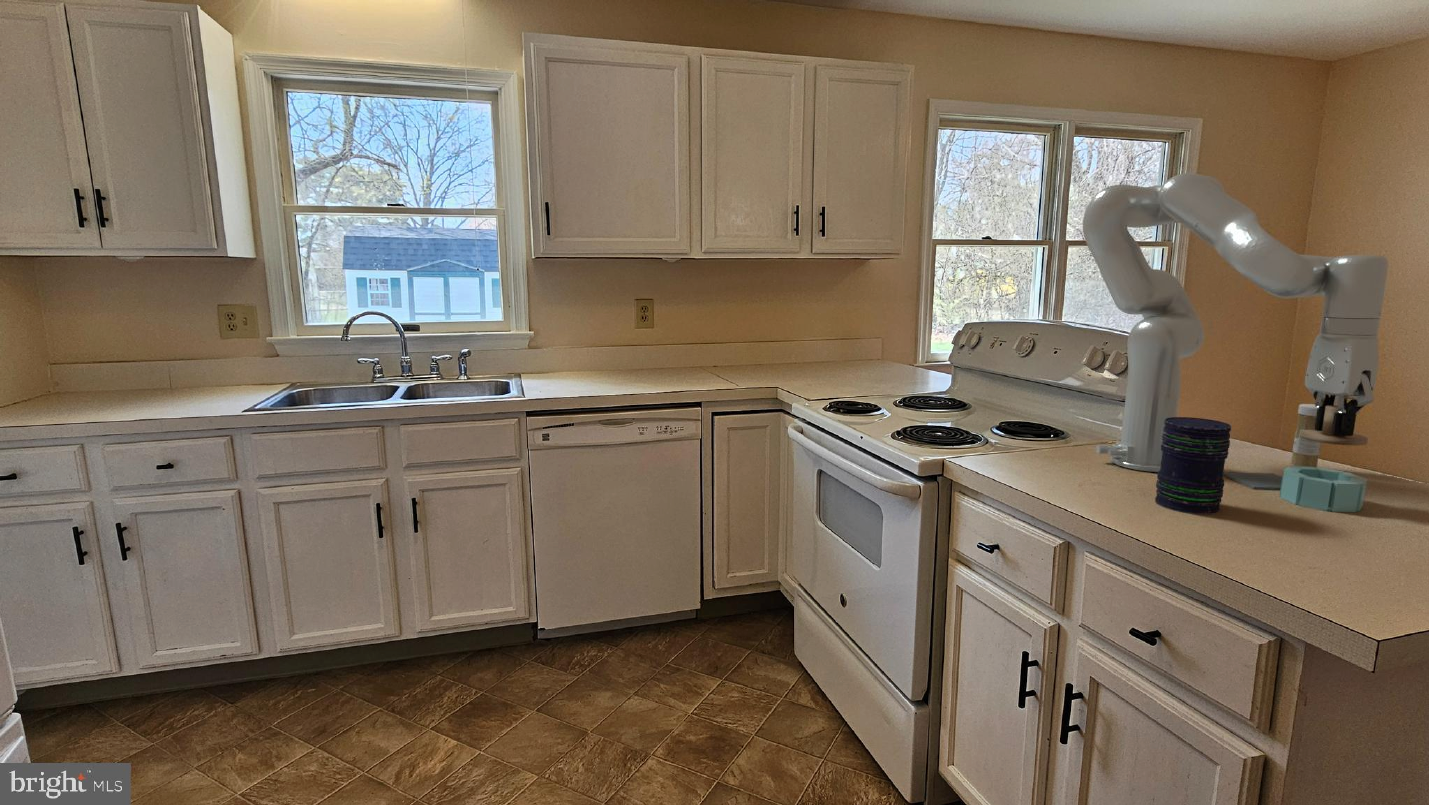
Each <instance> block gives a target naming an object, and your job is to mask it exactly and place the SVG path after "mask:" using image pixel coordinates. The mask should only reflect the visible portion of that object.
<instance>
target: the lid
mask: <svg viewBox="0 0 1429 805" xmlns="http://www.w3.org/2000/svg"><path fill="white" fill-rule="evenodd" d="M1334 413H1339V412H1338V405H1336V406H1326V407H1325V414H1324V421H1323V428H1322V431H1317V430H1302V431H1301V432H1300V437H1301V438H1304V439H1307V440H1311V441H1316V442H1321V444H1330V445H1338V446H1365V445H1367V444H1368V440H1369V438H1368V437H1366V436H1364V435H1360V434H1358V433H1357V434H1356V433H1353V435H1352V436H1334V435H1332V434H1331V431H1332V425H1333V418H1334Z"/></svg>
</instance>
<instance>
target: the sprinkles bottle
mask: <svg viewBox="0 0 1429 805" xmlns="http://www.w3.org/2000/svg"><path fill="white" fill-rule="evenodd" d="M1297 414H1298V416H1297V422H1296V430H1295V434H1294V439H1293V447H1292V453H1291V454H1292V455H1291V462H1290V464H1289V467H1291V466H1303V467H1315V468H1317V467H1318V461H1319V455H1320V452H1321V447H1322V443H1321V442H1316V441H1311V440H1307V439H1304V438H1301V437H1300V432H1301V431H1302V430H1315V429H1314V428H1315V421H1316V414H1317V408H1316V407H1315V403H1314V404H1313V403H1302V404H1299V405H1298V410H1297Z"/></svg>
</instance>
